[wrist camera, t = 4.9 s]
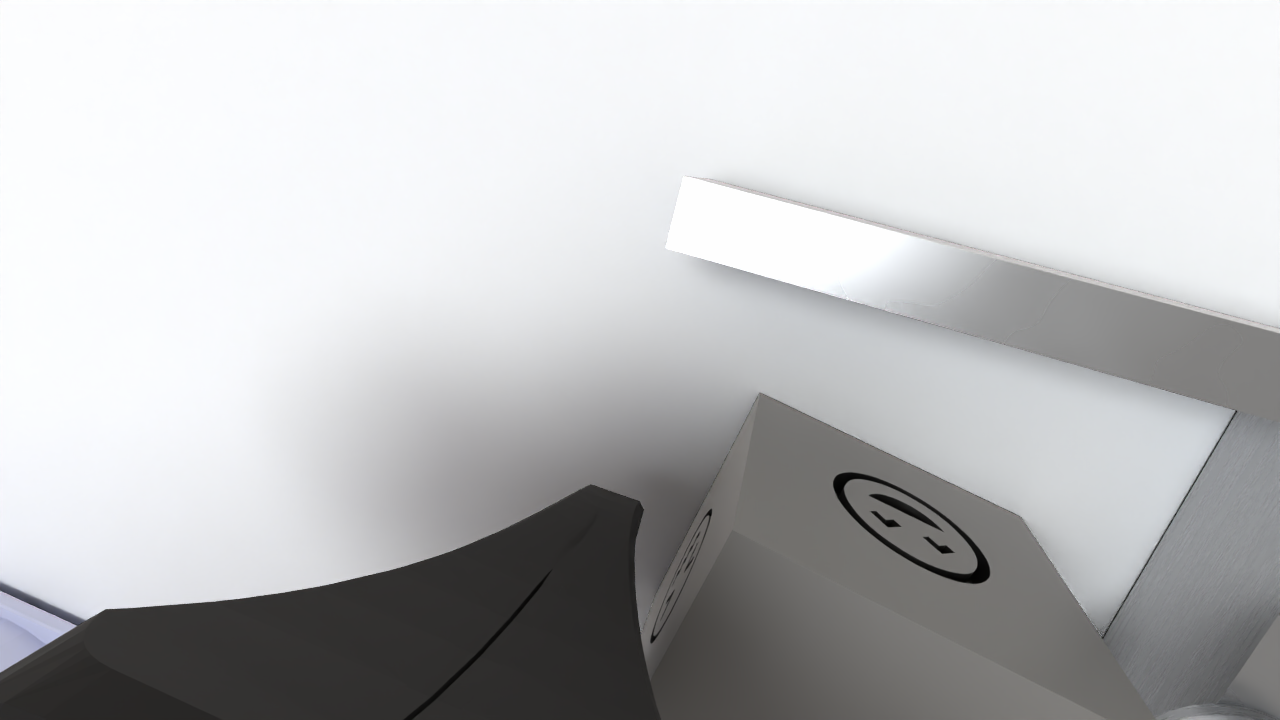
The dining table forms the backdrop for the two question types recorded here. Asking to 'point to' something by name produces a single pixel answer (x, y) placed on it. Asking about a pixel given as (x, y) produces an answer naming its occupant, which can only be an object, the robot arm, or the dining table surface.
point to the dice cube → (866, 597)
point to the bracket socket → (1099, 340)
